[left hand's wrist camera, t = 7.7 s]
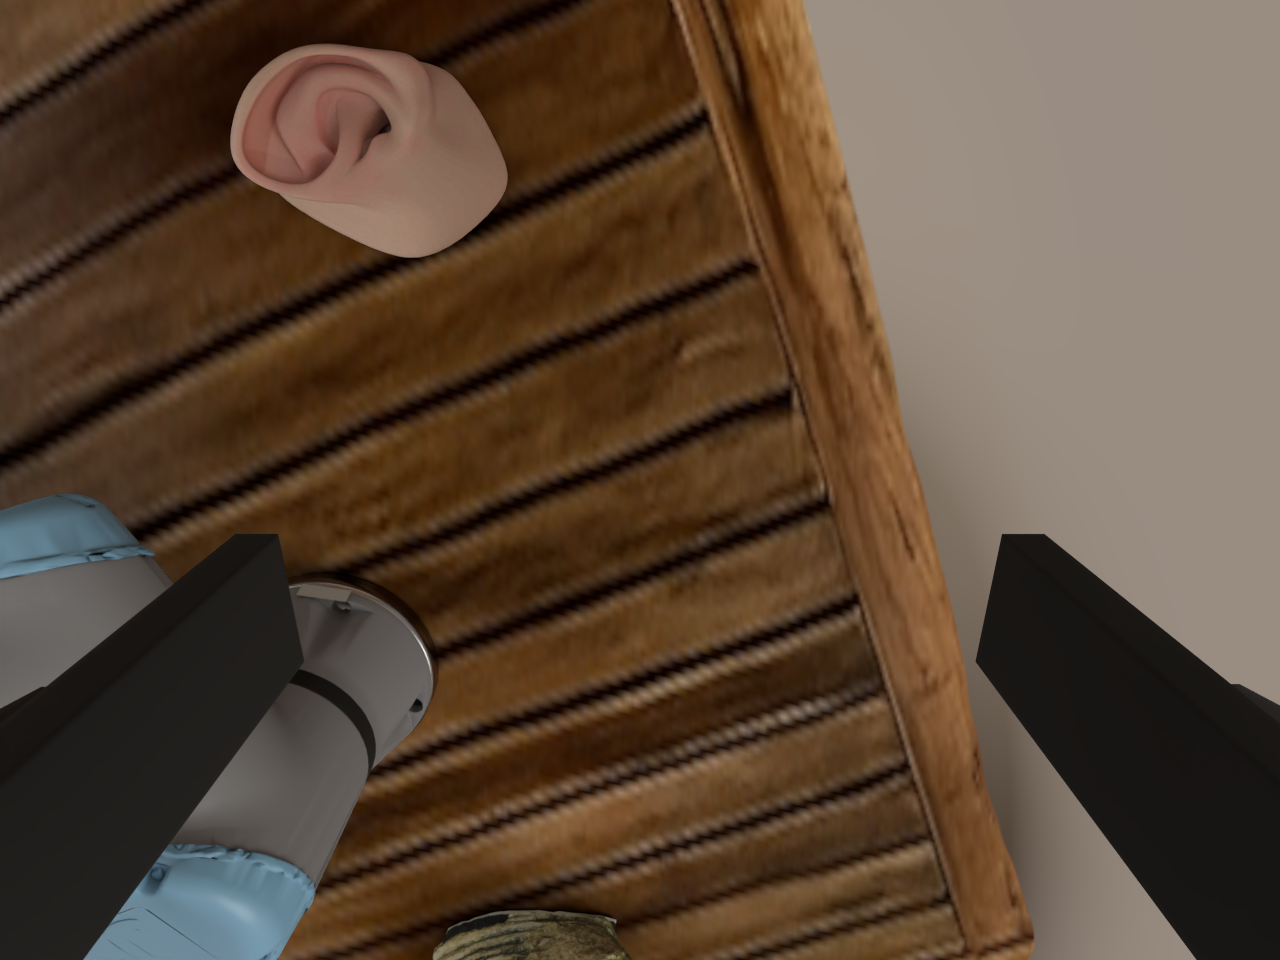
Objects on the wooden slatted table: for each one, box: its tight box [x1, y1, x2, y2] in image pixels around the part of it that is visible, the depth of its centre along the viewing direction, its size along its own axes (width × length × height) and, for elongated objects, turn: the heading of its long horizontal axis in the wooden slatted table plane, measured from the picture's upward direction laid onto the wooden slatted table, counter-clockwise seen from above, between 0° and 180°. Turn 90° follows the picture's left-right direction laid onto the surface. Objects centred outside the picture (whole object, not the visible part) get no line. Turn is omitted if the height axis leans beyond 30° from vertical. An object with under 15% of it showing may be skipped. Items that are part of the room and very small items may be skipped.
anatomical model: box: [231, 44, 508, 257], centre depth 39 cm, size 13×4×12 cm
